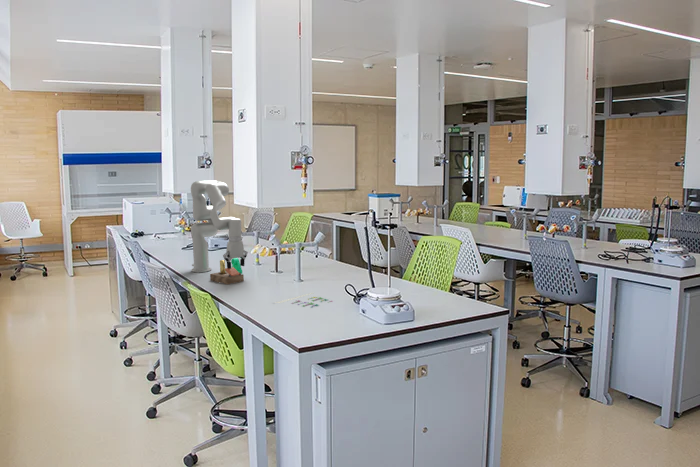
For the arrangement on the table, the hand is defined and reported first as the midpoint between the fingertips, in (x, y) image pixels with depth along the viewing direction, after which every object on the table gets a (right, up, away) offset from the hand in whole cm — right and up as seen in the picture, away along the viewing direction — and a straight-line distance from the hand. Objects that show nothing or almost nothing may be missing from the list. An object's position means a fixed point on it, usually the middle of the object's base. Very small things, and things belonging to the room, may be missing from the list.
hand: (235, 267), depth 343 cm
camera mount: (-6, -6, +19) cm, 21 cm away
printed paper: (+51, -16, -53) cm, 75 cm away
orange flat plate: (-1, -3, -4) cm, 5 cm away
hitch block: (-5, -8, 0) cm, 10 cm away
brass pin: (-8, -8, +2) cm, 12 cm away
